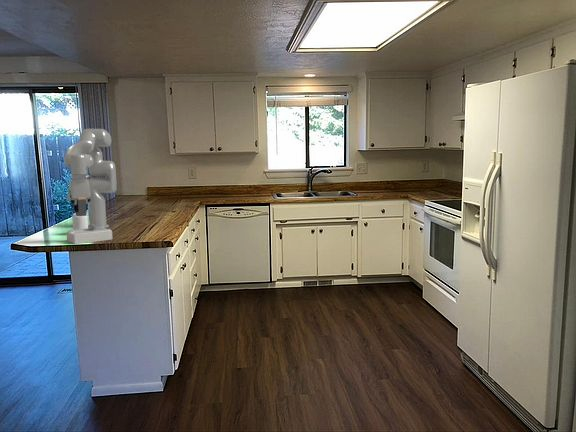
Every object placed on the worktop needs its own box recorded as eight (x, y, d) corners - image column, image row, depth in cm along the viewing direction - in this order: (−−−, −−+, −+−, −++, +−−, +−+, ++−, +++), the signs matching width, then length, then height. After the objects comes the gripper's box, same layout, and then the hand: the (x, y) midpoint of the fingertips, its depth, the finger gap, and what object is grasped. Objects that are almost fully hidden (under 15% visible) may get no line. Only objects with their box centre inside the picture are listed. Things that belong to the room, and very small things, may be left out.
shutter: (88, 229, 252) (88, 224, 252) (101, 228, 257) (101, 222, 256) (93, 231, 247) (93, 225, 246) (106, 230, 252) (106, 224, 251)
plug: (75, 215, 245) (74, 193, 243) (83, 214, 248) (82, 192, 246) (78, 216, 242) (77, 193, 240) (86, 215, 244) (85, 193, 243)
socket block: (67, 240, 247) (66, 230, 246) (103, 236, 261) (103, 226, 260) (74, 244, 238) (74, 233, 238) (112, 239, 252) (112, 229, 251)
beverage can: (85, 232, 273) (84, 212, 271) (90, 234, 267) (89, 214, 265) (71, 233, 268) (70, 213, 266) (75, 235, 262) (74, 215, 260)
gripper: (92, 176, 250) (93, 209, 253) (60, 177, 239) (62, 212, 241) (97, 177, 245) (99, 211, 248) (65, 178, 234) (67, 213, 236)
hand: (80, 211), depth 244 cm, fingers closed on plug, 4 cm apart
